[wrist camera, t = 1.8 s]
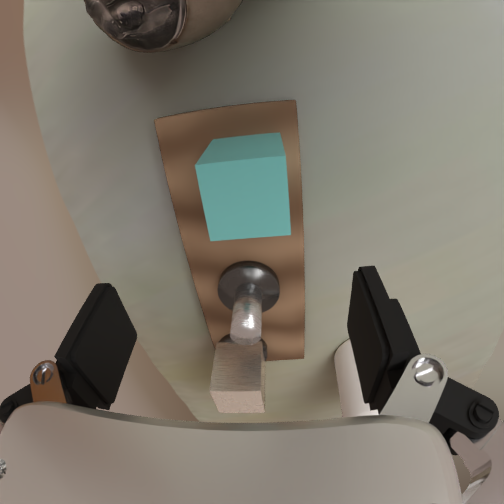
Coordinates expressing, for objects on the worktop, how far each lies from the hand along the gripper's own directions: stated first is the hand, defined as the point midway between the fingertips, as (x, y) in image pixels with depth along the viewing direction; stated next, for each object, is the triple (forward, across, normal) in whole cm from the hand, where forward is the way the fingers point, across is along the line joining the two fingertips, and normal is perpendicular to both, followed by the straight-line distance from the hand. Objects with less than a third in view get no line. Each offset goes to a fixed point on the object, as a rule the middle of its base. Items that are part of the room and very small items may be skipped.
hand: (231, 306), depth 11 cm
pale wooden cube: (+16, +3, +21) cm, 27 cm away
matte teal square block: (+15, 0, -1) cm, 15 cm away
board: (+16, +1, +9) cm, 19 cm away
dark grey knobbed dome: (+16, +1, +11) cm, 20 cm away
